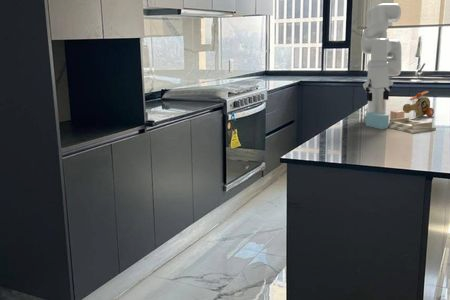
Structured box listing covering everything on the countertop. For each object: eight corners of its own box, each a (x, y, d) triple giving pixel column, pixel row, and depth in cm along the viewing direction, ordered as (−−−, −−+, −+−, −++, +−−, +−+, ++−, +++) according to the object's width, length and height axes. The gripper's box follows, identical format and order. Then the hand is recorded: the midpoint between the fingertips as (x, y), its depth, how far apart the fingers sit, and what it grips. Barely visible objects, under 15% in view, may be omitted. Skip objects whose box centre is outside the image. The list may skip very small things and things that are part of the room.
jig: (385, 127, 243) (386, 119, 242) (408, 124, 248) (408, 116, 247) (412, 133, 227) (412, 125, 226) (435, 129, 232) (436, 122, 231)
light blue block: (365, 125, 250) (366, 112, 248) (372, 124, 251) (372, 112, 250) (381, 129, 239) (382, 116, 237) (388, 128, 240) (388, 115, 239)
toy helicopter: (435, 116, 268) (436, 90, 265) (410, 120, 257) (411, 94, 254) (422, 114, 275) (423, 89, 272) (397, 119, 264) (398, 93, 261)
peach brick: (390, 122, 254) (390, 111, 253) (397, 121, 256) (398, 110, 255) (396, 124, 250) (396, 112, 249) (403, 123, 252) (404, 111, 250)
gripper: (388, 63, 244) (386, 98, 248) (359, 65, 238) (358, 100, 242) (398, 64, 238) (397, 99, 241) (369, 65, 231) (368, 102, 235)
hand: (377, 100), depth 241 cm, fingers open, 9 cm apart
